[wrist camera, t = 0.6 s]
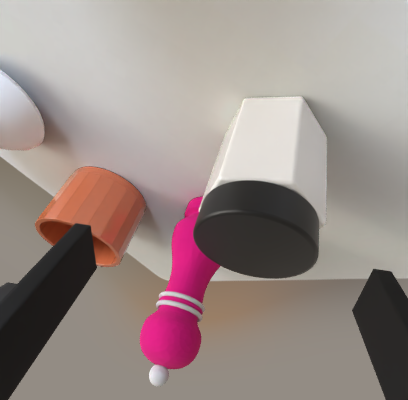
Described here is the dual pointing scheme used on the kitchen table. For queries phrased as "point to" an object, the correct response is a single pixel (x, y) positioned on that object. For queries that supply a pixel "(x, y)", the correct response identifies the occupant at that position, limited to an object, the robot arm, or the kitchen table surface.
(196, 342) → the pepper mill
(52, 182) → the kitchen table surface
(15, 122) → the flower in vase
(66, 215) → the terracotta coffee mug
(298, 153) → the jar
